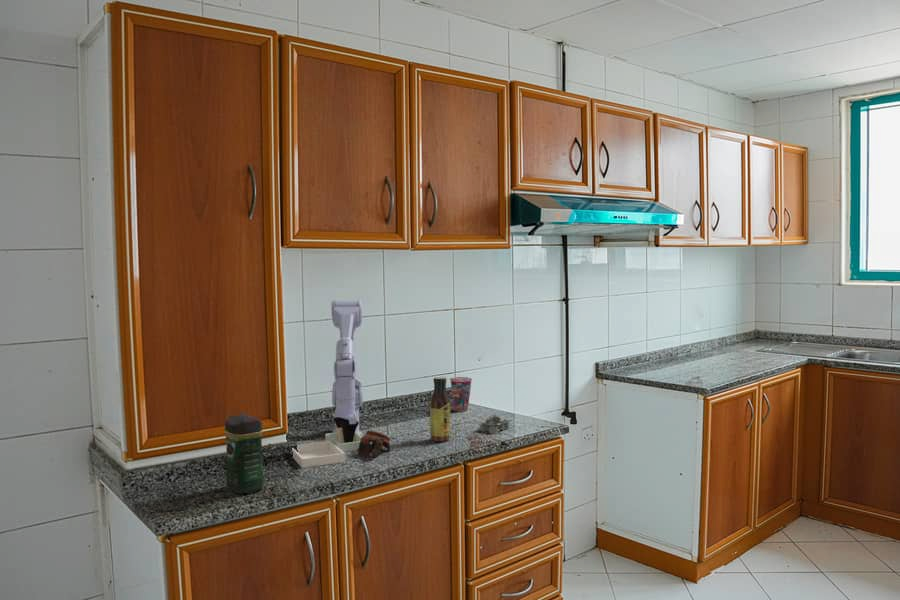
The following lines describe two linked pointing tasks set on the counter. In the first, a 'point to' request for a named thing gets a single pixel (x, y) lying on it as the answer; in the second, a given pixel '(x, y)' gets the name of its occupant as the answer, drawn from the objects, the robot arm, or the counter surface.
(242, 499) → the counter surface
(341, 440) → the sandstone block
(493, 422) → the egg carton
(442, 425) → the sauce bottle
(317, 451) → the cream bin
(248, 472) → the coffee jar
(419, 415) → the counter surface
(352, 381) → the robot arm
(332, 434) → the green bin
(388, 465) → the counter surface
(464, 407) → the cup
